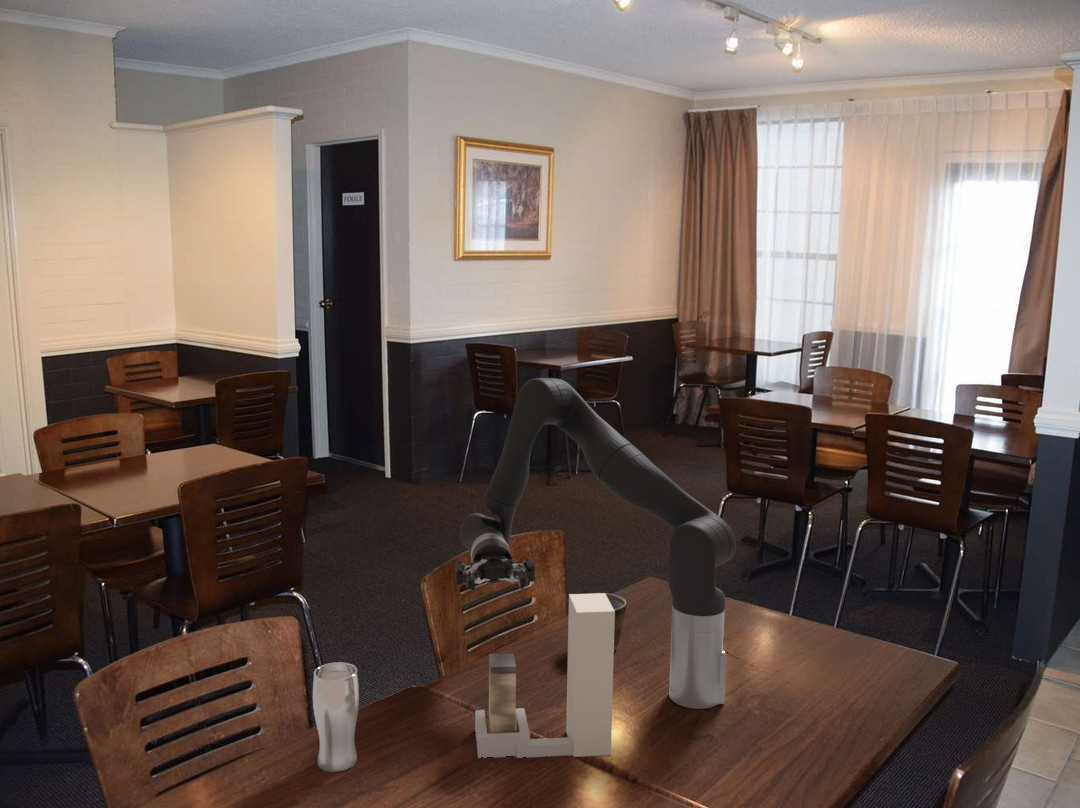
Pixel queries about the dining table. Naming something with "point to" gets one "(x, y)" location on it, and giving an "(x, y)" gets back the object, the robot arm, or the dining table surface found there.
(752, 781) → the dining table surface
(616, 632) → the ceramic cup
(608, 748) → the white socket stand
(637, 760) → the dining table surface
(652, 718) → the dining table surface
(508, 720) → the rail end
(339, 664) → the beer glass
